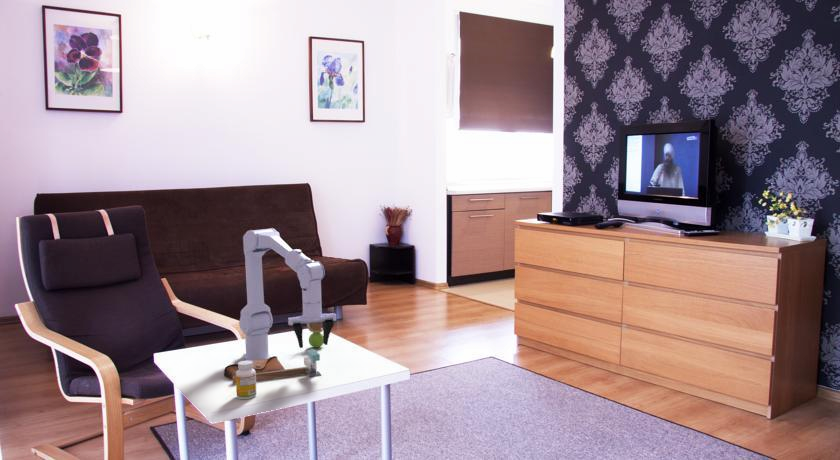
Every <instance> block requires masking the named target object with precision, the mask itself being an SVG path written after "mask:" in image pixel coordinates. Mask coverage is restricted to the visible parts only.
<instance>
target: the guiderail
mask: <svg viewBox="0 0 840 460" xmlns="http://www.w3.org/2000/svg"><path fill="white" fill-rule="evenodd" d="M284 369H285V368H284ZM307 370H308V368H307V367H306V366H302V367H294V368H286V369H285V370H278V371H270V372H263V373H256V382H259V381H267V380H273V379H280V378H281V379H282V378H288V377H296V376H304V375H308V374H307V373H308V371H307ZM232 384H233V385H236V376H233V381H232Z"/></svg>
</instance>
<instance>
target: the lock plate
mask: <svg viewBox="0 0 840 460" xmlns="http://www.w3.org/2000/svg"><path fill="white" fill-rule="evenodd" d="M306 375H307V376H308V377H309V378H311V377H312V378H314V377H320V376H322V374H321V373H320V371H319V370H317V373H311V372H310V371H309V372H307V374H306Z"/></svg>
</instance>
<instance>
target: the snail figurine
mask: <svg viewBox="0 0 840 460" xmlns="http://www.w3.org/2000/svg"><path fill="white" fill-rule="evenodd" d="M305 324H306V326H307V329H308V330H309V331H310V332H311V334H310V335H309V337H308V343H309V345H310V346H311V347H313V348H316V349H317V348H320V347H322V346H323V345H324V342H323V334H322V332H323V324H322V321H321V322H312V323H305Z"/></svg>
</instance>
